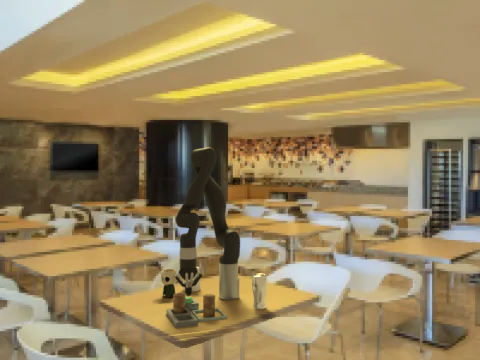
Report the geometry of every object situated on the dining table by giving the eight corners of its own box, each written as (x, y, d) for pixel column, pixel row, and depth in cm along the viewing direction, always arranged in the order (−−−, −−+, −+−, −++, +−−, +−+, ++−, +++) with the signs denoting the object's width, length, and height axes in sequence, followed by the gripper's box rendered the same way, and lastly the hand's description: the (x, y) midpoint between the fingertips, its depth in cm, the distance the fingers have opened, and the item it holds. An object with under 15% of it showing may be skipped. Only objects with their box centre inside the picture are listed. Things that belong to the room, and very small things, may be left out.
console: (193, 307, 209) (193, 298, 209) (198, 312, 202) (198, 303, 202) (176, 308, 207) (176, 300, 206) (181, 314, 199) (181, 305, 199)
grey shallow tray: (166, 316, 196) (166, 309, 196) (186, 313, 200) (186, 307, 199) (176, 330, 180) (176, 322, 179) (198, 327, 183) (198, 319, 183)
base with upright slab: (203, 289, 240) (203, 266, 240) (191, 292, 234) (191, 269, 233) (192, 286, 246) (192, 264, 246) (179, 289, 239) (179, 266, 239)
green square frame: (218, 312, 202) (218, 307, 202) (227, 320, 191) (227, 315, 191) (191, 315, 198) (191, 310, 198) (199, 324, 187) (199, 319, 186)
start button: (191, 307, 207) (191, 296, 207) (193, 310, 203) (193, 299, 203) (181, 308, 206) (181, 297, 205) (184, 311, 201) (184, 300, 201)
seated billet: (183, 313, 197) (183, 292, 197) (186, 317, 192) (186, 295, 192) (172, 314, 195) (172, 293, 195) (174, 318, 190) (174, 296, 190)
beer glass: (251, 305, 212) (251, 273, 212) (266, 304, 213) (266, 272, 213) (252, 309, 205) (253, 276, 205) (268, 309, 206) (268, 276, 206)
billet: (212, 314, 198) (212, 293, 197) (216, 317, 193) (216, 296, 193) (201, 315, 196) (201, 294, 195) (205, 319, 191) (205, 297, 191)
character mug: (156, 296, 227) (156, 270, 226) (166, 292, 233) (166, 267, 232) (171, 300, 220) (171, 273, 220) (182, 296, 226) (182, 270, 226)
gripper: (199, 254, 209) (200, 291, 210) (171, 256, 204) (171, 295, 205) (204, 257, 202) (205, 296, 203) (175, 259, 198) (175, 299, 198)
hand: (188, 295), depth 204 cm, fingers closed
